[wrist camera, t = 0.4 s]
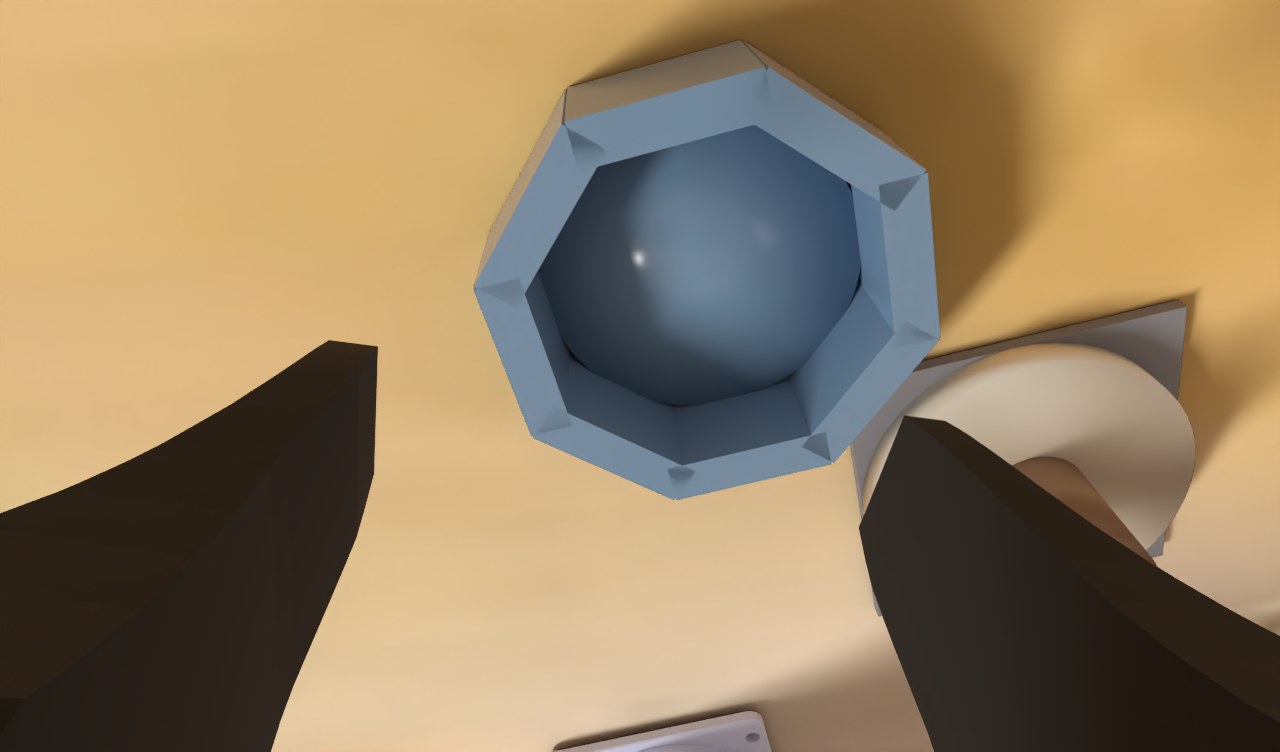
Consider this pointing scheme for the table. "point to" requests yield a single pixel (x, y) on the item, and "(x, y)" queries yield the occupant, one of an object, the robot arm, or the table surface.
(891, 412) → the mat
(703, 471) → the bowl
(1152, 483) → the lid
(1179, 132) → the table surface
